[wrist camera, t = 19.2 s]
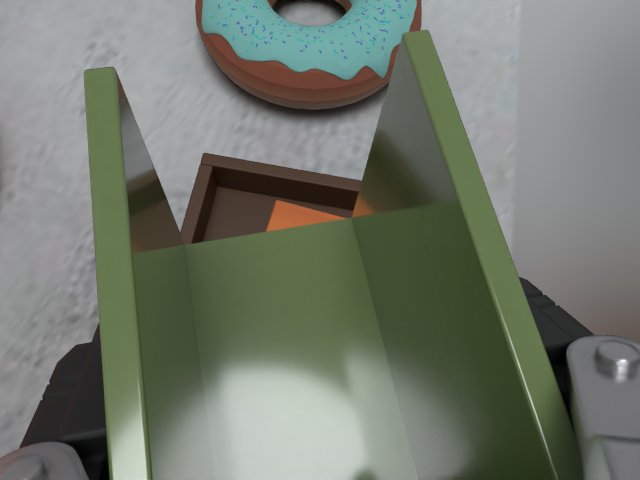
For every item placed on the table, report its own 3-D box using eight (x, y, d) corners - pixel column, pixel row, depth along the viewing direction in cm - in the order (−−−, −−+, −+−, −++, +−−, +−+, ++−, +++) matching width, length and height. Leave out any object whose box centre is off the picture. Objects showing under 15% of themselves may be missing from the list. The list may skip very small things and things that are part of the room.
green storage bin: (464, 599, 13) (691, 744, 6) (219, 666, 13) (135, 925, 5) (364, 222, 17) (429, 27, 10) (170, 254, 16) (81, 68, 9)
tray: (407, 485, 23) (422, 485, 21) (138, 436, 23) (122, 432, 21) (433, 218, 28) (446, 195, 25) (209, 178, 28) (203, 151, 25)
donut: (225, -57, 34) (219, -122, 30) (421, -25, 34) (438, -85, 30) (176, 104, 29) (161, 50, 26) (403, 141, 29) (420, 94, 26)
